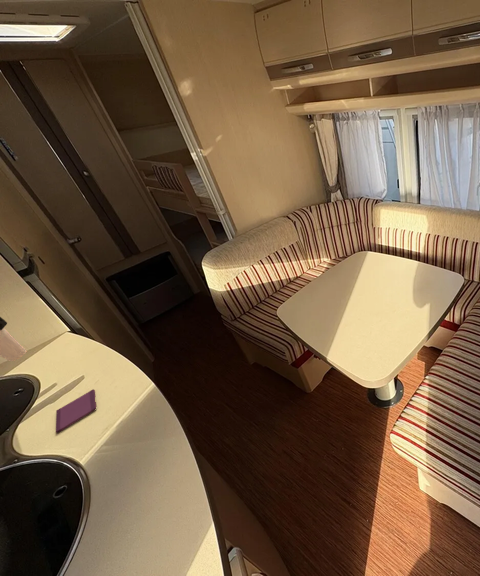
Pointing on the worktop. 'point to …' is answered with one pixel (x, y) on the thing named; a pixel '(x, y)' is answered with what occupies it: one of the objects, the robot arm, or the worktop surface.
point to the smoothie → (10, 346)
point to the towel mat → (75, 410)
